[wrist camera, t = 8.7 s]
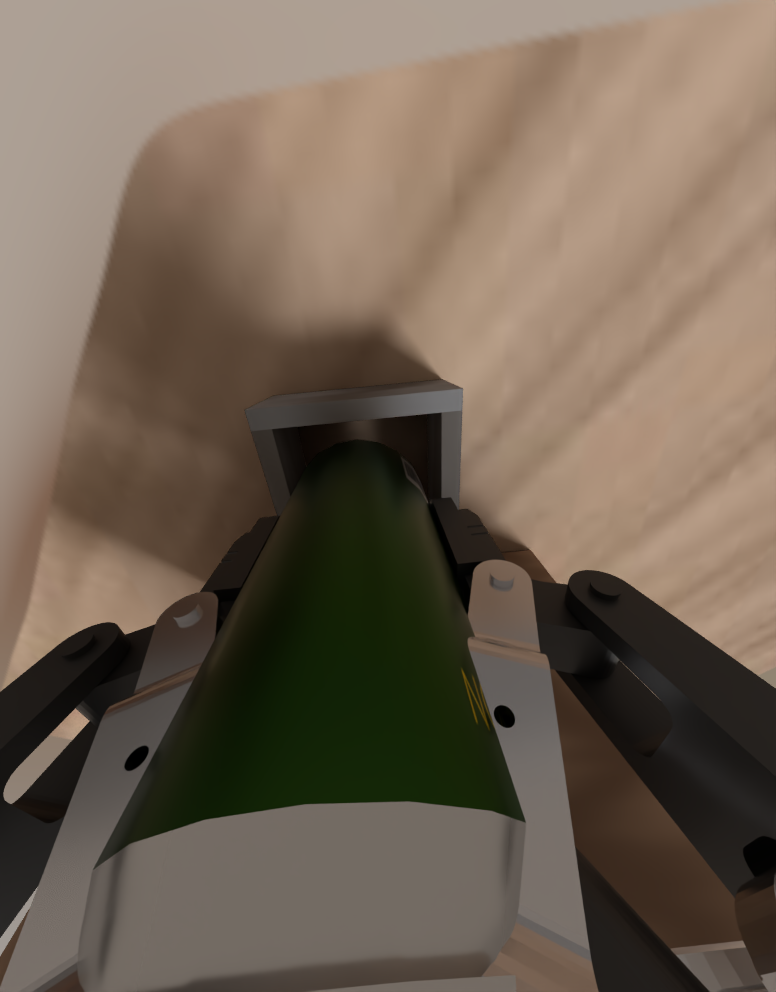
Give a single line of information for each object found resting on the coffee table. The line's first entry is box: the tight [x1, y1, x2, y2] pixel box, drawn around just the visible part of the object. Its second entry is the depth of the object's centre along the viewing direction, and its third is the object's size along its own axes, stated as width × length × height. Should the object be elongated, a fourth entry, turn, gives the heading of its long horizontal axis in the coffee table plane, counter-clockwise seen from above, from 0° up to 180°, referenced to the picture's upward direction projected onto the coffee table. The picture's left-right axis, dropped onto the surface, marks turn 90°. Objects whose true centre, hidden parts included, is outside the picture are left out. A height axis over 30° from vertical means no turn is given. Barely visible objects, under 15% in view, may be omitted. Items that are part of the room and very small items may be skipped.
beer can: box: [77, 440, 526, 992], centre depth 8 cm, size 5×5×12 cm
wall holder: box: [0, 379, 746, 986], centre depth 11 cm, size 20×13×14 cm, turn 95°
